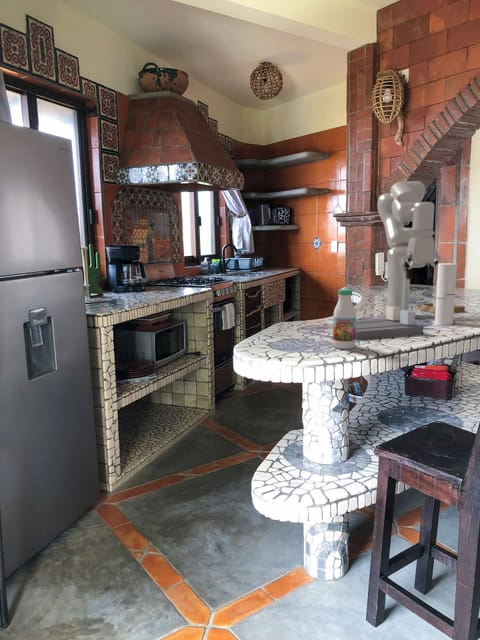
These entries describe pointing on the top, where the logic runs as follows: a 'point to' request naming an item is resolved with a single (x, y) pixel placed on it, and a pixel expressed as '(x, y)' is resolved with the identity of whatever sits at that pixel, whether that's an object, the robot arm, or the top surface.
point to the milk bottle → (344, 321)
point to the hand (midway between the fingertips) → (419, 278)
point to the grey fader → (407, 317)
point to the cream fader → (392, 313)
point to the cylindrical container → (445, 293)
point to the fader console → (385, 329)
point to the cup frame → (432, 309)
